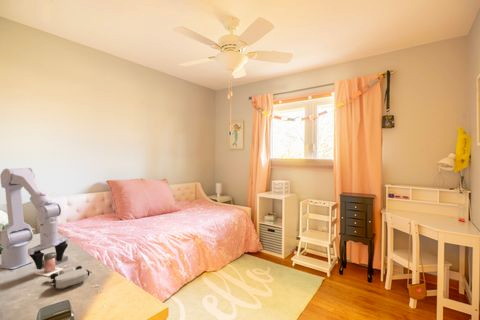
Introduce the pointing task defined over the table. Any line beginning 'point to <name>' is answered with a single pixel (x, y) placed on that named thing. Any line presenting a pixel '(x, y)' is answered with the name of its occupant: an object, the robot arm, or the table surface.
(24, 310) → the table surface
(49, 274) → the cream rectangular plate
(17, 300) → the table surface
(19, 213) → the robot arm
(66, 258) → the button housing
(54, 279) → the robot toy
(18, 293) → the table surface
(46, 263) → the marker
